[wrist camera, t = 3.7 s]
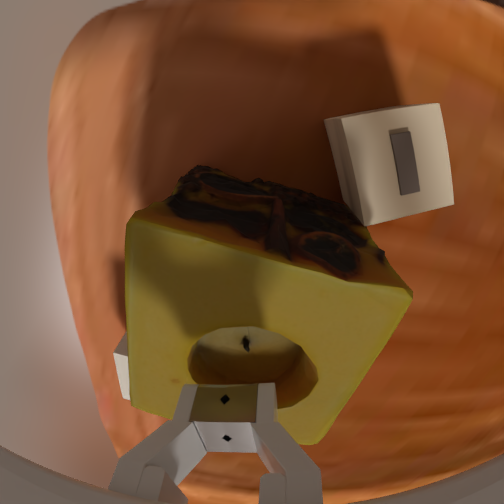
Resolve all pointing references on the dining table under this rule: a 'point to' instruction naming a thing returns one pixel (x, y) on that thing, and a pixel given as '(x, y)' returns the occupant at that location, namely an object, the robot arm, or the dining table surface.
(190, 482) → the dining table surface
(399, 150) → the beech block marked
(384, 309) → the candle
